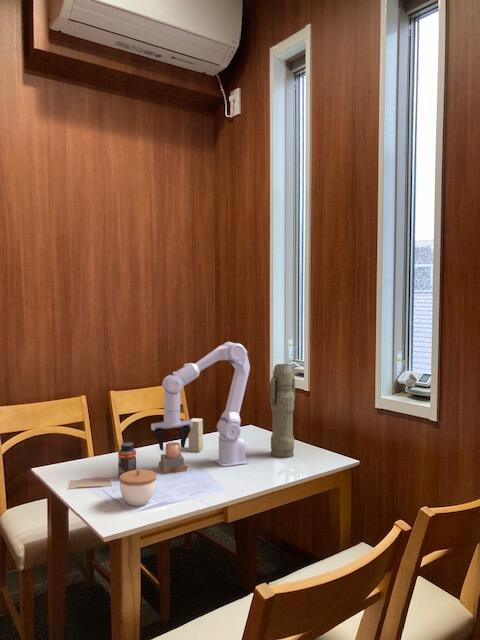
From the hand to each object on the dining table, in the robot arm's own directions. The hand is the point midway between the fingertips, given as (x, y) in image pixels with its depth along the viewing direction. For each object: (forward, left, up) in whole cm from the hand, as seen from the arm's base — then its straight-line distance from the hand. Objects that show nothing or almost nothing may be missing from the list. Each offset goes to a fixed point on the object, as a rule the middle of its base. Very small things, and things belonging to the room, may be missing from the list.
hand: (172, 448), depth 174 cm
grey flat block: (0, 0, -6) cm, 6 cm away
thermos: (-44, 0, -8) cm, 45 cm away
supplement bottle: (+16, +2, -8) cm, 18 cm away
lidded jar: (+17, +24, -8) cm, 30 cm away
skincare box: (-15, -19, -8) cm, 25 cm away
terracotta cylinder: (0, 0, -3) cm, 3 cm away
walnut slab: (0, 0, -8) cm, 8 cm away
